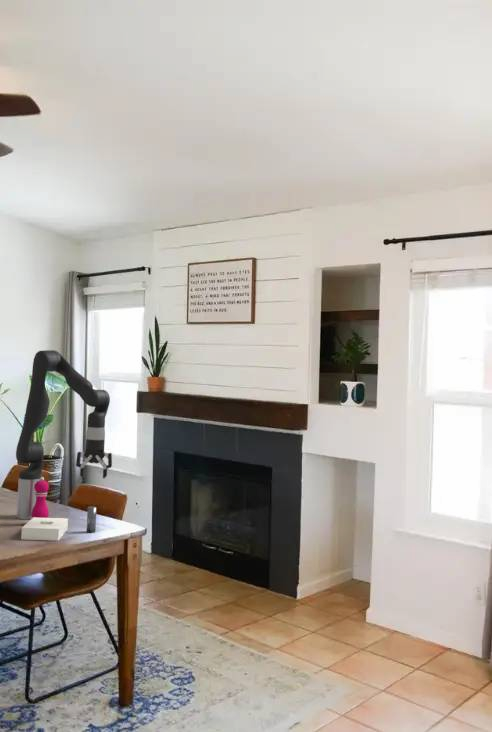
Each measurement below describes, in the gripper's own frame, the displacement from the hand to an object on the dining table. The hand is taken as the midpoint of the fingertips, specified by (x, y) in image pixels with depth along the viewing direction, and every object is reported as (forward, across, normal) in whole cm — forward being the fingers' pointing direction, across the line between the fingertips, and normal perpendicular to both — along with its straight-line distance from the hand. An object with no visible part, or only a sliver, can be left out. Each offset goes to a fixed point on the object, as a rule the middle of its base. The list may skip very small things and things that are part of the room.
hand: (93, 477), depth 294 cm
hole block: (+22, +17, +7) cm, 29 cm away
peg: (+22, 0, 0) cm, 22 cm away
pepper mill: (+22, +23, -11) cm, 34 cm away
